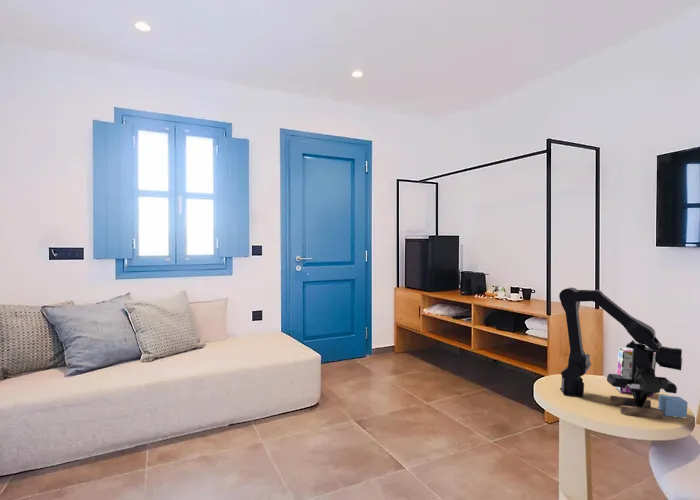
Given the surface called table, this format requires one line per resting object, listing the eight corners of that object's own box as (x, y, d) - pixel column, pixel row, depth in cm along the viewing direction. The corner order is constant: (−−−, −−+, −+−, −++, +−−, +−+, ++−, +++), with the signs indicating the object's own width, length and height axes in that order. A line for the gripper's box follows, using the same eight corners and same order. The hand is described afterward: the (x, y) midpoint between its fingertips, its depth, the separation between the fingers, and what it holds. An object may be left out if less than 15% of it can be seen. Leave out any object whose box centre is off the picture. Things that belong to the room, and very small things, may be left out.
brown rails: (621, 413, 132) (621, 406, 132) (610, 402, 141) (610, 395, 141) (663, 418, 129) (663, 411, 129) (648, 406, 138) (649, 399, 138)
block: (665, 416, 131) (666, 400, 131) (658, 410, 136) (659, 394, 135) (686, 418, 130) (687, 402, 130) (678, 412, 134) (679, 396, 134)
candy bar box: (620, 393, 150) (622, 350, 149) (615, 388, 155) (617, 347, 154) (654, 396, 147) (657, 353, 147) (647, 391, 152) (650, 349, 152)
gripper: (621, 367, 129) (618, 414, 129) (688, 374, 124) (685, 422, 125) (607, 357, 139) (604, 400, 140) (668, 362, 135) (665, 407, 136)
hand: (639, 407), depth 135 cm, fingers closed
